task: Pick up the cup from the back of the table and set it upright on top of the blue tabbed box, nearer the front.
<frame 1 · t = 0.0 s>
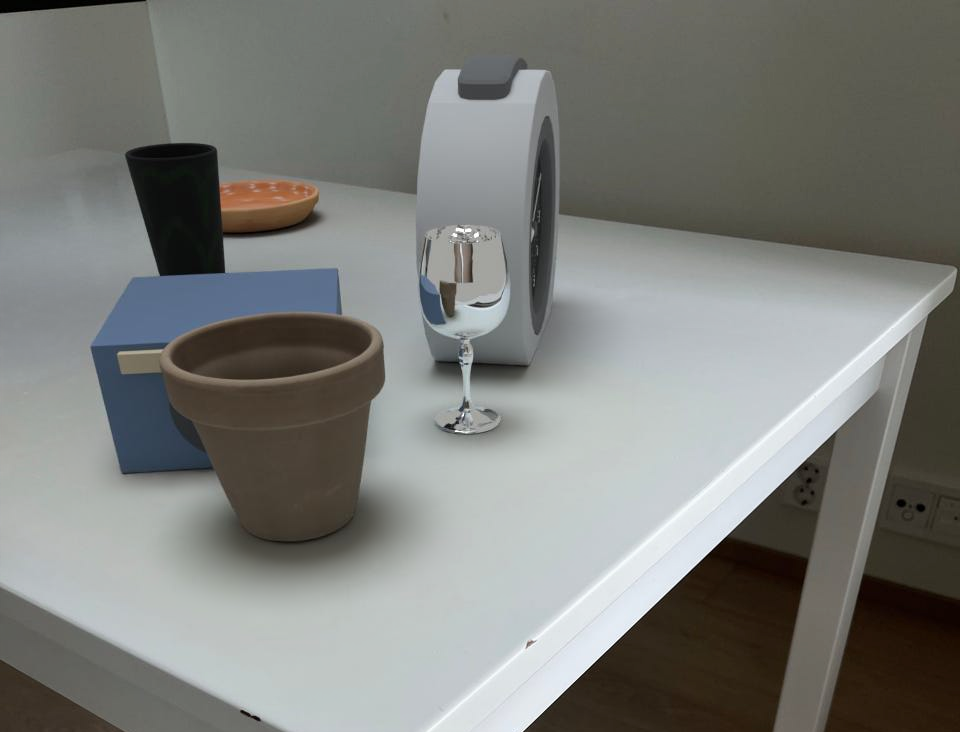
blue tabbed box: (245, 421, 68), on the table
cup: (196, 295, 92), on the table
alarm clock: (495, 337, 82), on the table
saucer: (252, 222, 115), on the table
wineglass: (467, 423, 67), on the table
flower pot: (296, 518, 57), on the table
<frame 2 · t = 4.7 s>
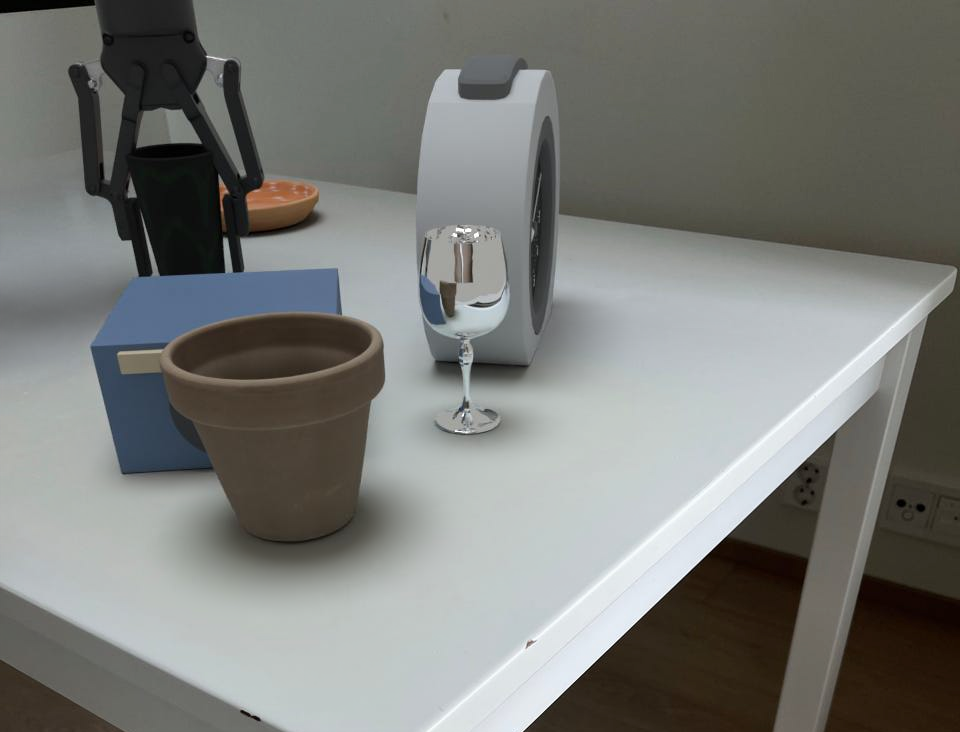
hand: (192, 274, 91), 2 cm above the table, tool pointing down, fingers closed on cup, 8 cm apart
cup: (196, 295, 92), on the table, touching gripper
everything else where it was.
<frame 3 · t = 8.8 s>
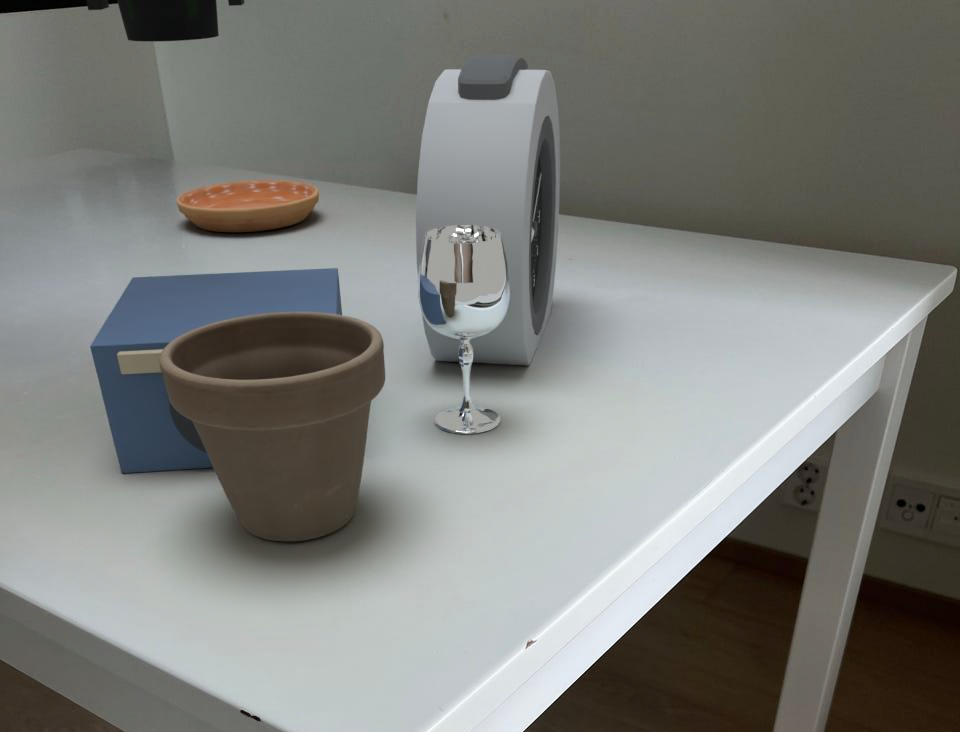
hand: (168, 5, 62), 23 cm above the table, tool pointing down, fingers closed on cup, 8 cm apart
cup: (174, 41, 63), point 22 cm above the table, touching gripper
everything else where it was.
when the fingers open (10 cm above the table, at t = 13.0 s): cup stays where it is, resting on blue tabbed box.
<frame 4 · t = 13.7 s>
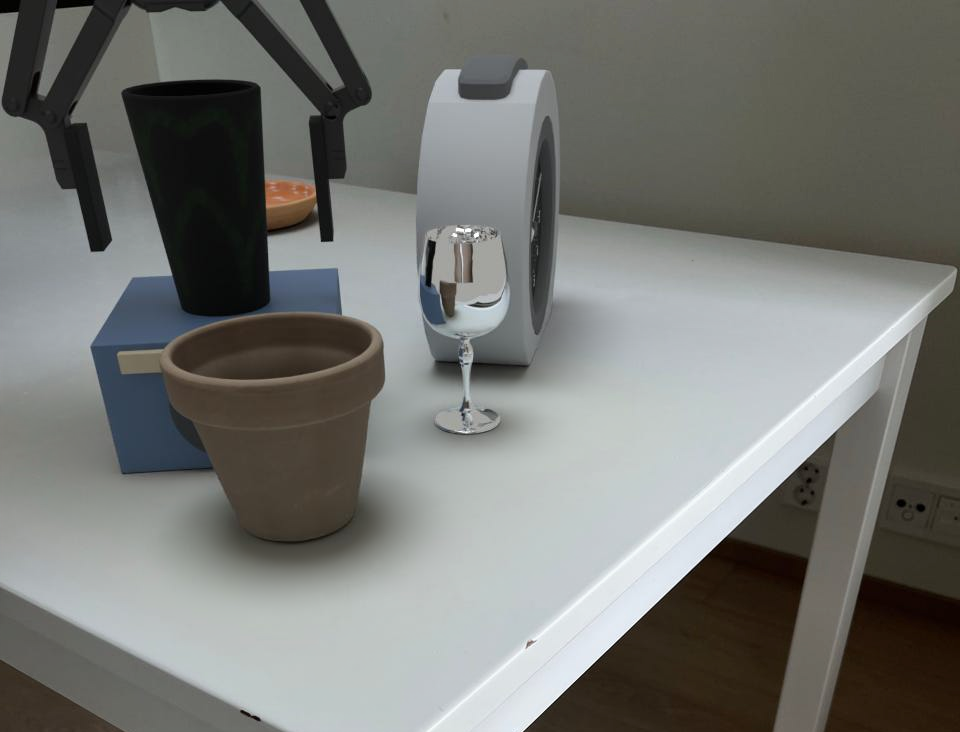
hand: (215, 242, 61), 12 cm above the table, tool pointing down, fingers open, 13 cm apart
cup: (226, 305, 63), point 8 cm above the table, touching blue tabbed box
everything else where it was.
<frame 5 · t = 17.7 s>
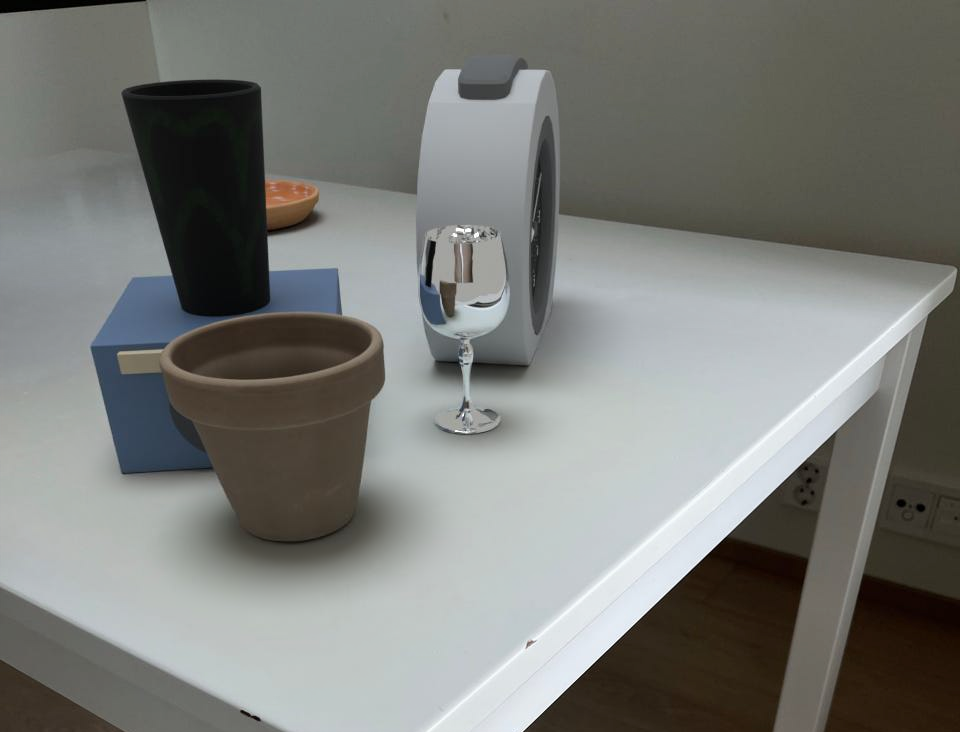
nothing on the table moved.
at the end: cup inside the target area on the blue tabbed box (0.0 cm from its centre), point 7.8 cm above the blue tabbed box's base; cup tilted 0° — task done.
